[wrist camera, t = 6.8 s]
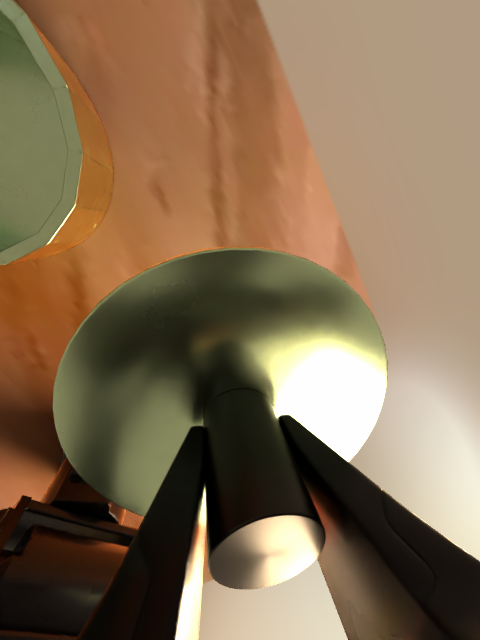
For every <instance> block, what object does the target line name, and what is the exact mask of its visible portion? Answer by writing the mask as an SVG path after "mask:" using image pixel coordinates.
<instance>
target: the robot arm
mask: <svg viewBox="0 0 480 640" xmlns="http://www.w3.org/2000/svg"><path fill="white" fill-rule="evenodd" d="M278 421H279V423H280V425H281V428H282V430H283V432H284V435H285V437H286V439H287V442H288V444H289V447H290V449H291V451H292V454H293V456H294V458H295V461H296V463H297V465H298V468H299V470H300V472H301V475H302V477H303V479H304V482H305V484H306V486H307V489H308V491H309V493H310V496H311V498H312V500H313V503H314V505H315V507H316V510H317V512H318V514H319V517H320V519H321V521H322V524H323V526H324V528H325V533H326V541H325V545H324V547H323V550H322V551H321V553H320V555H319V556H318V557H317V559H318V561H319V564H320V567H321V570H322V572H323V575H324V577H325V580H326V583H327V585H328V588H329V591H330V593H331V596H332V599H333V601H334V604H335V606H336V609H337V612H338V614H339V617H340V619H341V622H342V625H343V627H344V630H345V633H346V635H347V638H348V640H480V561H479V560H477V559H476V558H474V557H473V556H471V555H470V554H469V553H467V552H466V551H464V550H463V549H462V548H460V547H459V546H457V545H456V544H454V543H453V542H451V541H450V540H449V539H447V538H446V537H444V536H443V535H441V534H440V533H439V532H438V531H436V530H435V529H433V528H432V527H431V526H429V525H428V524H427V523H425V522H424V521H422V520H421V519H420V518H418V517H417V516H416V515H414V514H413V513H412V512H411V511H409V510H408V509H407V508H405V507H404V506H403V505H402V504H400V503H399V502H398V501H396V500H395V499H394V498H393V497H391V496H390V495H389V494H388V493H387V492H385V491H384V490H381V488H380V487H379V486H378V485H376V484H375V483H374V482H373V481H372V480H370V479H369V478H368V477H367V476H365V475H364V474H363V473H362V472H360V471H359V470H358V469H357V468H355V467H354V466H353V465H352V464H351V463H349V462H348V461H347V460H346V459H344V458H343V457H342V456H341V455H339V454H338V453H337V452H336V451H334V450H333V449H332V448H331V447H330V446H328V445H327V444H326V443H325V442H323V441H322V440H321V439H320V438H318V437H317V436H316V435H315V434H313V433H312V432H311V431H310V430H309V429H307V428H306V427H305V426H304V425H302V424H301V423H300V422H299V421H297V420H296V419H295V418H294V417H292V416H291V415H289V414H287V415H280V416H278ZM31 499H32V498H31V497H28V496H24V495H22V497H21V498H20V499H19V501H18V502H17V503H16V505H15V506H14V507H13V508H11V507H9V508H8V509H3V510H0V640H199V627H200V626H199V625H200V610H201V594H202V578H203V561H204V545H205V528H206V498H205V452H204V428H203V426H202V425H199V426H192V427H191V428H190V429H189V431H188V433H187V435H186V437H185V439H184V441H183V443H182V445H181V447H180V449H179V451H178V453H177V455H176V457H175V459H174V461H173V462H172V464H171V466H170V468H169V470H168V472H167V474H166V476H165V478H164V480H163V482H162V484H161V486H160V488H159V490H158V492H157V494H156V496H155V498H154V499H153V501H152V503H151V505H150V507H149V509H148V511H147V513H146V515H145V517H144V519H143V521H142V523H141V525H140V527H139V529H136V528H132V527H129V526H125V525H123V522H124V518H125V514H126V509H123V508H122V507H120V506H118V505H116V504H114V503H113V502H111V501H109V500H107V499H106V498H105V497H103V496H102V495H101V494H99V493H98V492H96V491H95V490H94V489H93V488H92V487H91V486H90V485H89V484H88V483H86V482H85V481H84V480H83V479H82V478H81V477H80V475H79V474H78V473H77V471H76V470H75V469H74V467H73V466H72V465H71V463H70V462H69V460H68V458H67V456H66V454H65V452H63V457H62V463H61V467H60V469H59V470H58V472H57V474H56V476H55V477H54V479H53V481H52V482H51V484H50V486H49V488H48V489H47V491H46V493H45V495H44V496H43V498H42V500H41V502H38V501H35V500H31Z"/></svg>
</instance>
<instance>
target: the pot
mask: <svg viewBox="0 0 480 640" xmlns="http://www.w3.org/2000/svg"><path fill="white" fill-rule="evenodd" d="M112 189H113V161H112V153H111V149H110V145H109V141H108V137H107V134H106V132H105V129H104V126H103V123H102V121H101V119H100V117H99V115H98V113H97V111H96V109H95V107H94V105H93V103H92V102H91V100H90V98H89V97H88V95H87V93H86V92H85V90H84V89H83V87H82V85H81V83H80V82H79V80H78V78H77V76H76V75H75V74H74V73H73V71H72V70H71V69H70V68H69V66H68V65H67V64H66V63H65V61H64V60H63V59H62V58H61V56H60V55H59V54H58V53H57V51H56V50H55V49H54V48H53V46H52V45H51V44H50V43H49V41H48V40H47V39H46V37H45V36H44V35H43V34H42V32H41V31H40V30H39V29H38V27H37V26H36V25H35V24H34V22H33V21H32V20H31V19H30V17H29V16H28V15H27V14H26V12H25V11H24V10H23V9H22V8H21V7H20V6H19V5H18V4H17V3H16V2H15V1H14V0H0V265H8V264H13V263H18V262H24V261H29V260H34V259H39V258H44V257H50V256H54V255H56V254H58V253H60V252H63V251H65V250H68V249H70V248H73V247H74V246H76V245H78V244H79V243H81V242H83V241H84V240H85V239H86V238H87V237H89V236H90V235H91V234H92V233H93V232H94V230H95V229H96V228H97V227H98V226H99V224H100V222H101V221H102V219H103V218H104V216H105V214H106V211H107V209H108V206H109V203H110V199H111V195H112Z"/></svg>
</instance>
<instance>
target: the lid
mask: <svg viewBox="0 0 480 640" xmlns="http://www.w3.org/2000/svg"><path fill="white" fill-rule="evenodd" d="M387 366H388V361H387V355H386V348H385V343H384V340H383V337H382V334H381V330H380V328H379V326H378V324H377V322H376V320H375V318H374V316H373V314H372V312H371V310H370V309H369V308H368V306H367V305H366V304H365V302H364V301H363V299H362V298H361V297H360V295H358V294H357V293H356V292H355V291H354V290H353V289H352V288H351V287H350V286H349V285H348V284H347V283H346V282H345V281H344V280H342V279H341V278H339V277H338V276H336V275H335V274H334V273H332V272H331V271H329V270H328V269H326V268H324V267H322V266H320V265H318V264H316V263H314V262H312V261H310V260H307V259H305V258H302V257H298V256H295V255H292V254H289V253H286V252H282V251H278V250H273V249H266V248H260V247H253V246H224V247H216V248H208V249H200V250H197V251H193V252H189V253H185V254H182V255H178V256H174V257H172V258H169V259H167V260H165V261H162V262H160V263H157V264H155V265H153V266H150V267H148V268H147V269H145V270H143V271H142V272H140V273H138V274H137V275H135V276H133V277H132V278H130V279H128V280H126V281H125V282H124V283H122V284H121V285H120V286H119V287H117V288H116V289H115V290H114V291H112V292H111V293H110V294H109V295H107V296H106V297H105V298H104V299H103V300H101V301H100V302H99V303H98V304H97V305H96V307H95V308H94V309H93V310H92V311H91V312H90V313H89V314H88V315H87V316H86V318H85V319H84V320H83V321H82V322H81V324H80V325H79V327H78V328H77V330H76V331H75V333H74V335H73V336H72V338H71V339H70V341H69V342H68V345H67V347H66V349H65V351H64V354H63V356H62V358H61V360H60V363H59V366H58V370H57V374H56V379H55V383H54V391H53V415H54V423H55V429H56V432H57V435H58V438H59V441H60V444H61V447H62V449H63V451H64V452H65V454H66V456H67V458H68V460H69V462H70V463H71V465H72V466H73V467H74V469H75V470H76V471H77V473H78V474H79V475H80V477H81V478H82V479H83V480H84V481H85V482H86V483H88V484H89V485H90V486H91V487H92V488H93V489H94V490H95V491H96V492H98V493H99V494H101V495H102V496H103V497H105V498H106V499H107V500H109V501H111V502H113V503H114V504H116V505H118V506H120V507H122V508H123V509H126V510H128V511H131V512H133V513H136V514H138V515H141V516H144V517H145V515H146V513H147V511H148V509H149V507H150V505H151V503H152V501H153V499H154V498H155V496H156V494H157V492H158V490H159V488H160V486H161V484H162V482H163V480H164V478H165V476H166V474H167V472H168V470H169V468H170V466H171V464H172V462H173V461H174V459H175V457H176V455H177V453H178V451H179V449H180V447H181V445H182V443H183V441H184V439H185V437H186V435H187V433H188V431H189V429H190V428H191V427H192V426H199V425H202V426H203V428H204V452H205V498H206V528H207V557H208V569H209V572H210V574H211V576H212V578H213V579H214V580H215V581H217V582H218V583H219V584H221V585H223V586H226V587H229V588H234V589H257V588H263V587H267V586H271V585H275V584H277V583H280V582H283V581H285V580H287V579H290V578H291V577H293V576H295V575H297V574H298V573H300V572H302V571H303V570H304V569H306V568H307V567H308V566H309V565H310V564H311V563H313V561H315V559H316V558H317V557H318V556H319V555H320V553H321V551H322V550H323V547H324V545H325V541H326V533H325V528H324V526H323V524H322V521H321V519H320V517H319V514H318V512H317V510H316V507H315V505H314V503H313V500H312V498H311V496H310V493H309V491H308V489H307V486H306V484H305V482H304V479H303V477H302V475H301V472H300V470H299V468H298V465H297V463H296V461H295V458H294V456H293V454H292V451H291V449H290V447H289V444H288V442H287V439H286V437H285V435H284V432H283V430H282V428H281V425H280V423H279V421H278V416H280V415H287V414H289V415H291V416H292V417H294V418H295V419H296V420H297V421H299V422H300V423H301V424H302V425H304V426H305V427H306V428H307V429H309V430H310V431H311V432H312V433H313V434H315V435H316V436H317V437H318V438H320V439H321V440H322V441H323V442H325V443H326V444H327V445H328V446H330V447H331V448H332V449H333V450H334V451H336V452H337V453H338V454H339V455H341V456H342V457H343V458H344V459H346V460H347V461H348V462H349V460H350V459H351V458H352V457H353V456H354V455H355V454H356V453H357V451H358V450H359V448H360V447H361V446H362V444H363V443H364V441H365V440H366V439H367V437H368V435H369V433H370V432H371V430H372V428H373V426H374V424H375V422H376V420H377V417H378V415H379V412H380V410H381V407H382V403H383V400H384V396H385V391H386V385H387V370H388V368H387Z"/></svg>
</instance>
